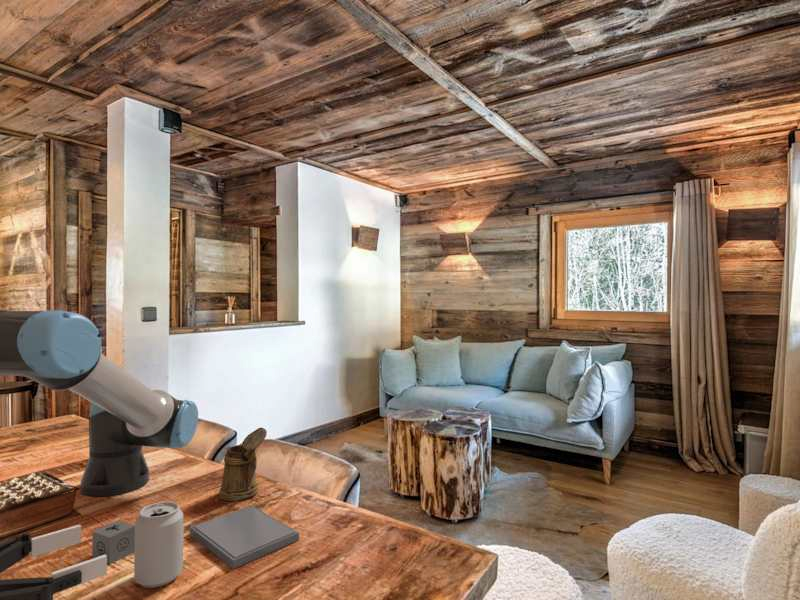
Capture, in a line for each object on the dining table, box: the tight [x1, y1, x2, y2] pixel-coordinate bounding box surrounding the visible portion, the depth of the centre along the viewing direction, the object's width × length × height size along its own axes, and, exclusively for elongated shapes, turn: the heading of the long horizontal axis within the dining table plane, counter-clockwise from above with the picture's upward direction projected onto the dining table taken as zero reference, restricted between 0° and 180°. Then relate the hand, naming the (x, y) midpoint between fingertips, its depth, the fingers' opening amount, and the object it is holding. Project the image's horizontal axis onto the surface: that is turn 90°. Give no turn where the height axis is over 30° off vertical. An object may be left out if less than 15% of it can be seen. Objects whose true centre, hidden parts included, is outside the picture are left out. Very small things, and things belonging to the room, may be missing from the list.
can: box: [133, 501, 184, 589], centre depth 82 cm, size 8×8×12 cm
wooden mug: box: [218, 427, 268, 502], centre depth 115 cm, size 9×14×18 cm, turn 50°
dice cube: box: [91, 519, 135, 565], centre depth 89 cm, size 5×5×5 cm
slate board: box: [189, 505, 300, 570], centre depth 95 cm, size 18×14×2 cm
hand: (92, 547), depth 74 cm, fingers open, 13 cm apart
